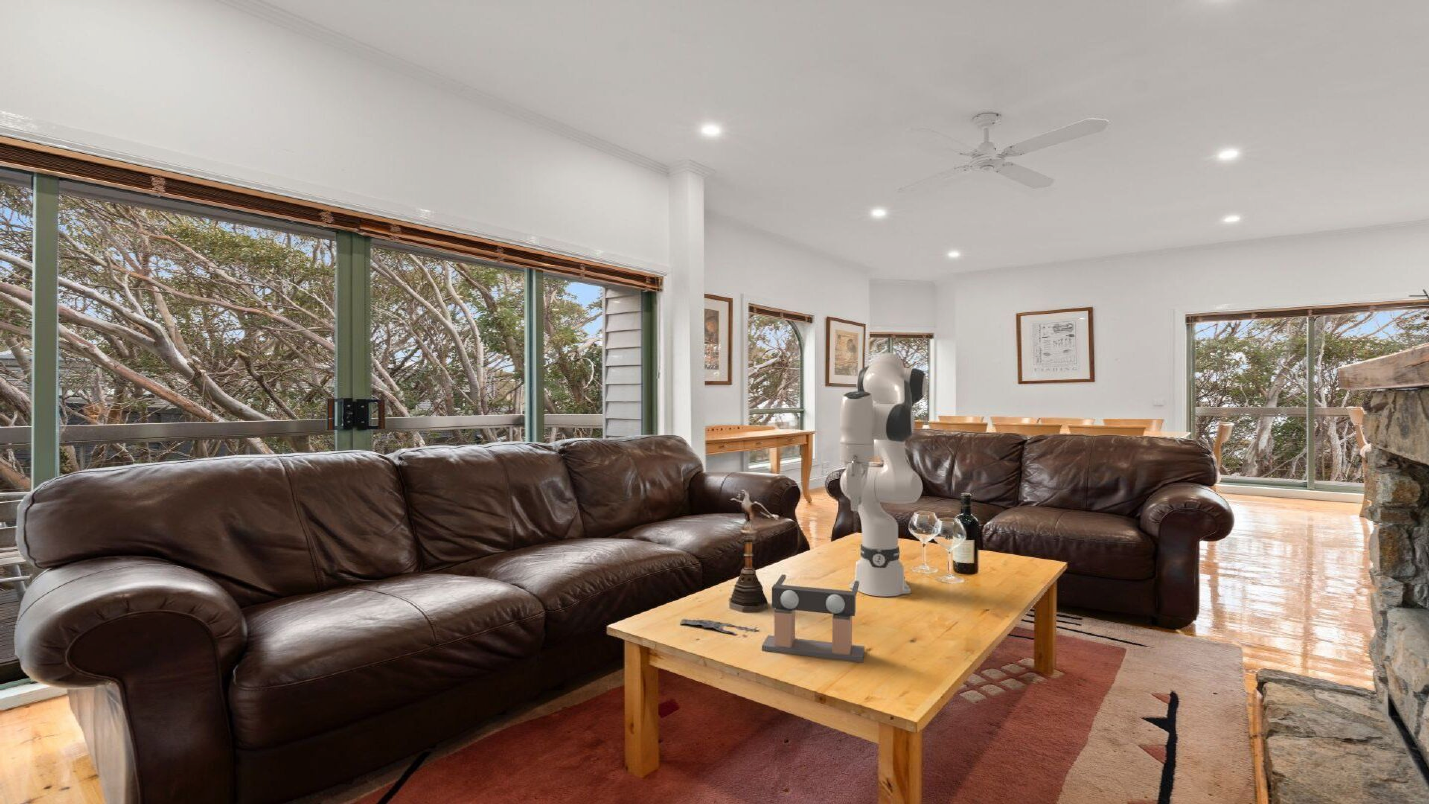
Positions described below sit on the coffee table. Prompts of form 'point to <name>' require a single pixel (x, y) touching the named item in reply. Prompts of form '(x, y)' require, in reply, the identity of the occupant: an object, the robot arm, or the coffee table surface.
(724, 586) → the coffee table surface
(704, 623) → the driftwood
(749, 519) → the bird statue
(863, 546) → the robot arm
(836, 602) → the glasses
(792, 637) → the stand
